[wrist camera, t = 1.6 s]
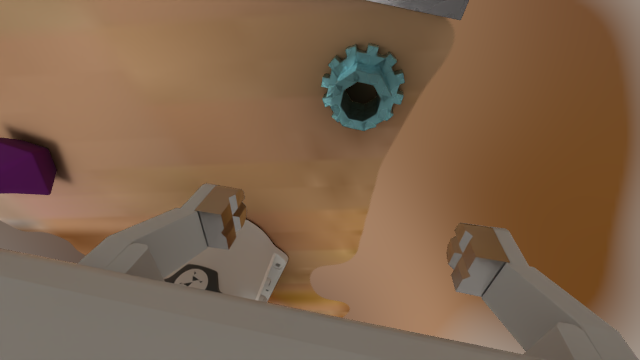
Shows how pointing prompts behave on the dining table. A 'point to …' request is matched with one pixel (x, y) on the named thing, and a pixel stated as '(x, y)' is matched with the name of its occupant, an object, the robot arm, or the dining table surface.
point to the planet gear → (363, 70)
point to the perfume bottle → (25, 168)
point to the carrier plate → (431, 6)
